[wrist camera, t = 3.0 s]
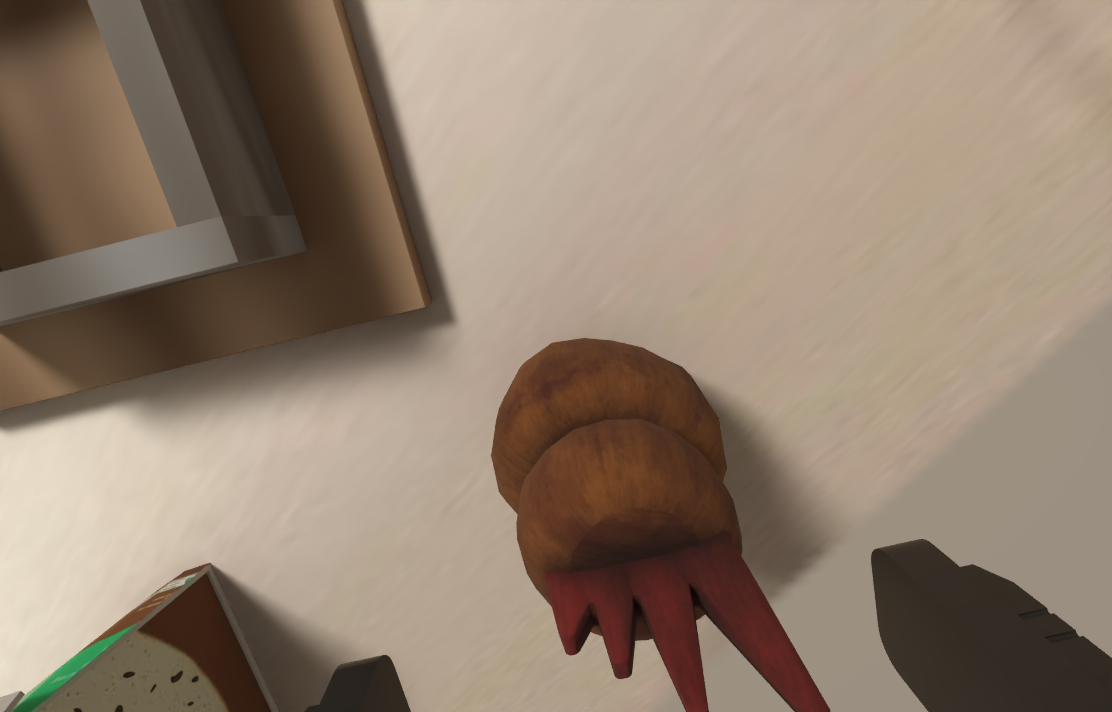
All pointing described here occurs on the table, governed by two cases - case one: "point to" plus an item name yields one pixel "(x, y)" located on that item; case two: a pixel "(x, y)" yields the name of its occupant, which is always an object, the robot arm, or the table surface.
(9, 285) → the collar board
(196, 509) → the table surface
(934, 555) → the robot arm
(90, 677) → the food container
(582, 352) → the wooden figurine
